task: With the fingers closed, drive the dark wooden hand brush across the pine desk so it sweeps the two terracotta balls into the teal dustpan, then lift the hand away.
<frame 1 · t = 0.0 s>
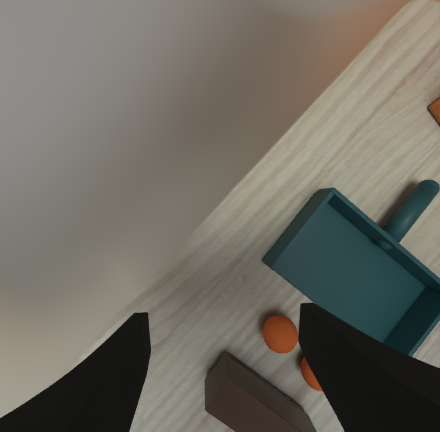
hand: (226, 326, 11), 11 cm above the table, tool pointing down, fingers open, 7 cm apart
ball b: (279, 333, 21), point 1 cm above the table
dustpan: (346, 274, 22), on the table
brush: (255, 390, 22), on the table
ball a: (318, 370, 21), point 1 cm above the table
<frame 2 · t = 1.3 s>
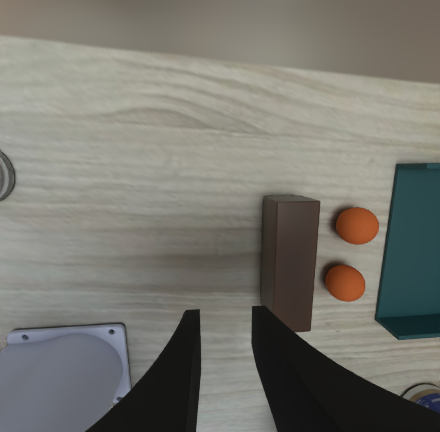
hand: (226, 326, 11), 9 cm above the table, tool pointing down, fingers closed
ball b: (356, 225, 19), point 1 cm above the table
pill bottle: (417, 400, 26), on the table
dustpan: (425, 245, 22), on the table
brush: (277, 251, 20), on the table
ball a: (344, 282, 20), point 1 cm above the table
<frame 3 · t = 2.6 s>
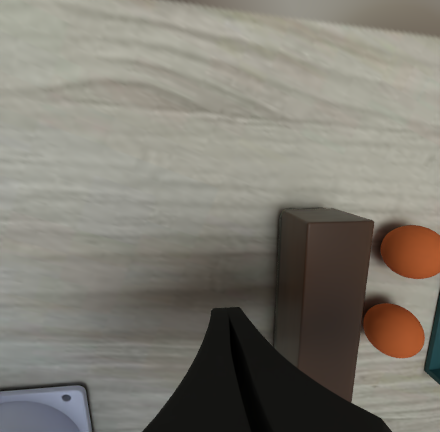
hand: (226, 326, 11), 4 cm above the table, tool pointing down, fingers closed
ball b: (412, 251, 13), point 1 cm above the table
brush: (297, 284, 15), on the table
ball a: (391, 329, 14), point 1 cm above the table
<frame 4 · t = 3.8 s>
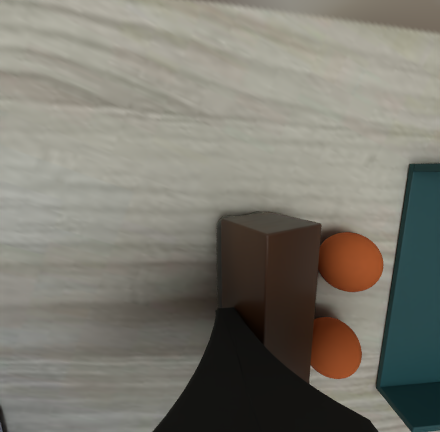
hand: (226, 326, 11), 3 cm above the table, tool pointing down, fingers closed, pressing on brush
ball b: (347, 261, 12), point 1 cm above the table
brush: (236, 298, 13), on the table, tilted 26°, touching gripper
ball a: (330, 346, 13), point 1 cm above the table
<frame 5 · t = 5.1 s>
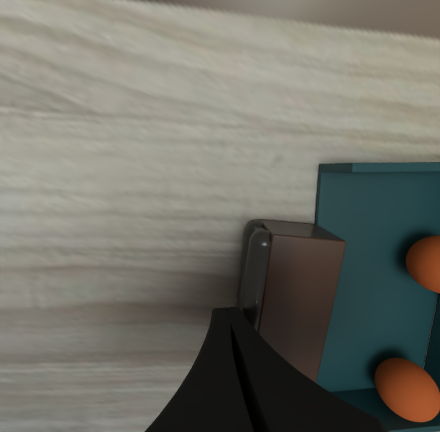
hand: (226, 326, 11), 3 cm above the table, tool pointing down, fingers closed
dustpan: (373, 288, 14), on the table
brush: (236, 317, 12), point 1 cm above the table, tilted 85°, touching dustpan, gripper
ball a: (405, 387, 14), point 2 cm above the table, tilted 45°, touching dustpan
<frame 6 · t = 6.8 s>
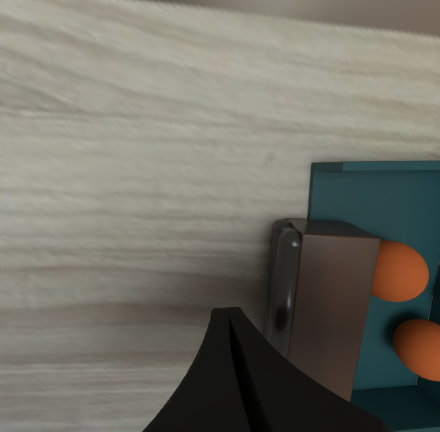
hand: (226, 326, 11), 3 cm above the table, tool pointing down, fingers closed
ball b: (389, 270, 12), point 2 cm above the table, tilted 59°, touching dustpan
dustpan: (367, 288, 14), on the table
brush: (267, 316, 12), point 1 cm above the table, tilted 81°, touching dustpan
ball a: (426, 348, 13), point 2 cm above the table, tilted 109°, touching dustpan
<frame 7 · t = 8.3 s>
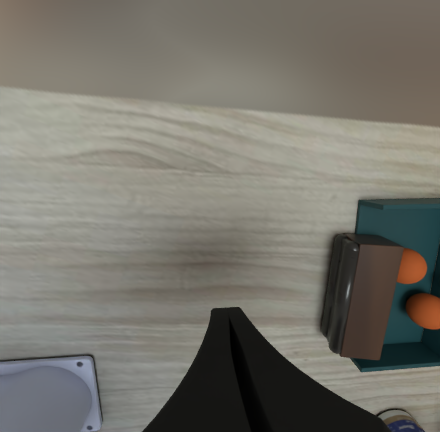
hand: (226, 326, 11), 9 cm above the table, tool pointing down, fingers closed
ball b: (403, 265, 20), point 2 cm above the table, tilted 68°, touching dustpan
pill bottle: (387, 425, 26), on the table
dustpan: (390, 277, 22), on the table
brush: (332, 293, 20), point 1 cm above the table, tilted 81°, touching dustpan
ball a: (427, 310, 21), point 2 cm above the table, tilted 106°, touching dustpan
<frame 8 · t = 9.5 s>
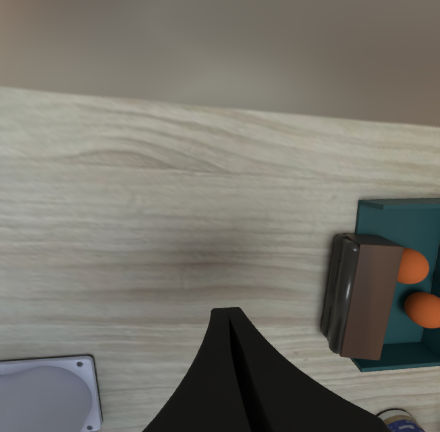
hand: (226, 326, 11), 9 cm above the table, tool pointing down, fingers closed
ball b: (405, 265, 20), point 2 cm above the table, tilted 61°, touching dustpan
pill bottle: (387, 425, 26), on the table
dustpan: (390, 277, 22), on the table
brush: (332, 293, 20), point 1 cm above the table, tilted 81°, touching dustpan
ball a: (425, 309, 21), point 2 cm above the table, tilted 100°, touching dustpan
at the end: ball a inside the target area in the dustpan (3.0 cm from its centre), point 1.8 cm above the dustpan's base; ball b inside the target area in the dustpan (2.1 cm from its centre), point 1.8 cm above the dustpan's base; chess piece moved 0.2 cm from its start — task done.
